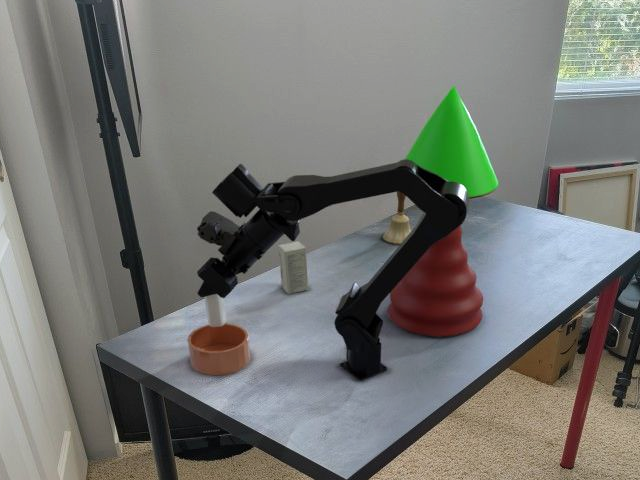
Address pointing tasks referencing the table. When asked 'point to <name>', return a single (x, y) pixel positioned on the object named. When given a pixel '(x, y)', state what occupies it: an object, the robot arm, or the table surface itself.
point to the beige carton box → (293, 267)
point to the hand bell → (398, 224)
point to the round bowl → (219, 349)
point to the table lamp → (449, 253)
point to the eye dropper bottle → (215, 310)
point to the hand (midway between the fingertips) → (206, 288)
